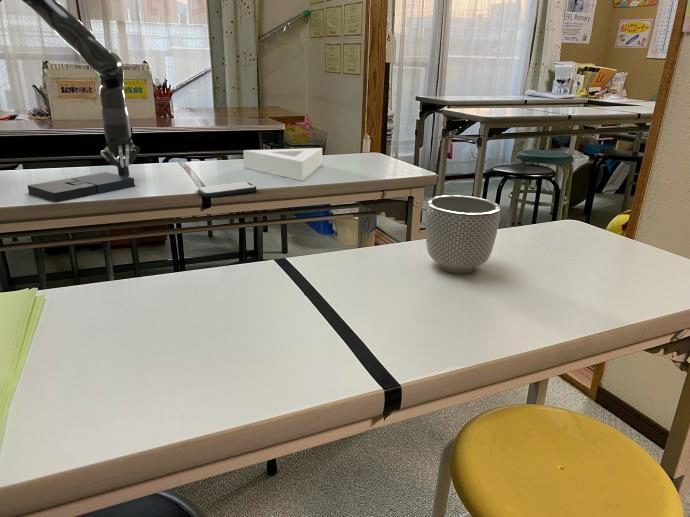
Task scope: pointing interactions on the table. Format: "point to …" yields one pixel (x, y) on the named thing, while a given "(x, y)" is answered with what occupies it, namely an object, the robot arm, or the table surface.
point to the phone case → (226, 189)
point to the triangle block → (284, 161)
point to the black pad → (61, 190)
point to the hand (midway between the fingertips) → (124, 178)
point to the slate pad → (105, 181)
